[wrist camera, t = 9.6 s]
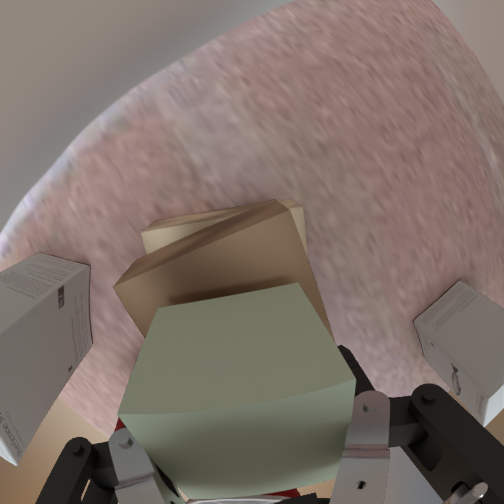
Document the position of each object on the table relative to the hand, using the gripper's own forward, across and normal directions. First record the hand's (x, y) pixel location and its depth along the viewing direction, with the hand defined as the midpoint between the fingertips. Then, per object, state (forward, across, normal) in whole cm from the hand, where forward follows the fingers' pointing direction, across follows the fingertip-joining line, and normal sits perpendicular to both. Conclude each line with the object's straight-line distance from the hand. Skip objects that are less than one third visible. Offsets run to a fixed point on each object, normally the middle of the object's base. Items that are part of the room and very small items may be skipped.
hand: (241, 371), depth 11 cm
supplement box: (+10, -21, +10) cm, 25 cm away
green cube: (+1, 0, 0) cm, 1 cm away
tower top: (+7, 0, 0) cm, 7 cm away
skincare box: (+10, +15, -1) cm, 18 cm away
